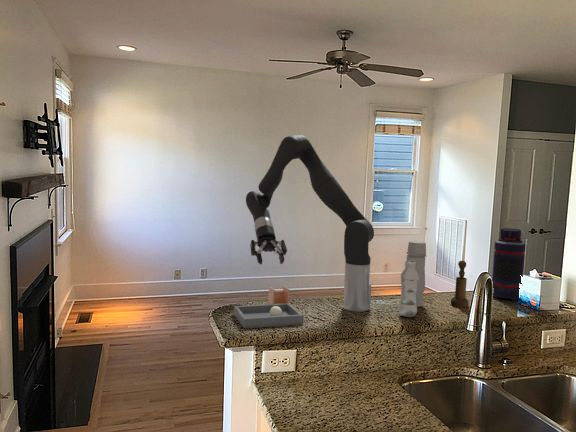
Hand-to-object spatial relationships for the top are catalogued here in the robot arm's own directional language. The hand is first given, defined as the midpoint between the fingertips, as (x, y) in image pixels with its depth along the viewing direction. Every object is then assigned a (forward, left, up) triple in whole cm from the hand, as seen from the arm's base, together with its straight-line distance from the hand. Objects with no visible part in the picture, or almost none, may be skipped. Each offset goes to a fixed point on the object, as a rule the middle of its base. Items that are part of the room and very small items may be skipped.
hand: (271, 263), depth 180 cm
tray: (+8, +23, -15) cm, 29 cm away
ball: (+6, +25, -12) cm, 28 cm away
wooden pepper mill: (-72, +21, -15) cm, 77 cm away
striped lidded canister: (-102, +14, -15) cm, 104 cm away
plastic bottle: (-42, +30, -15) cm, 54 cm away
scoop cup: (0, +10, -15) cm, 18 cm away
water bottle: (-54, +17, -15) cm, 59 cm away
